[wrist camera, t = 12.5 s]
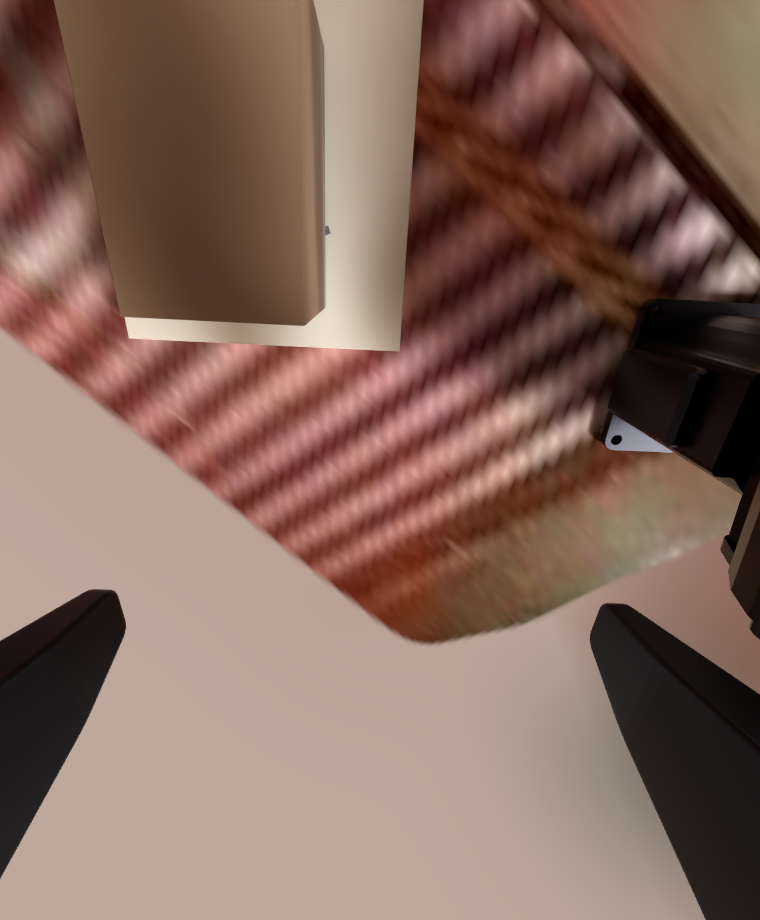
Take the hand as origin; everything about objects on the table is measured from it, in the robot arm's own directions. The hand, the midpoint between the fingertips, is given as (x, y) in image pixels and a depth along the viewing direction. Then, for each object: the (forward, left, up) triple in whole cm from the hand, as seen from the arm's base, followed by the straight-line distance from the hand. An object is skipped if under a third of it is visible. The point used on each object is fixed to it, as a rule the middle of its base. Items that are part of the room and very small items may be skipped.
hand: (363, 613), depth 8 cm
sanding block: (+4, -8, -10) cm, 13 cm away
